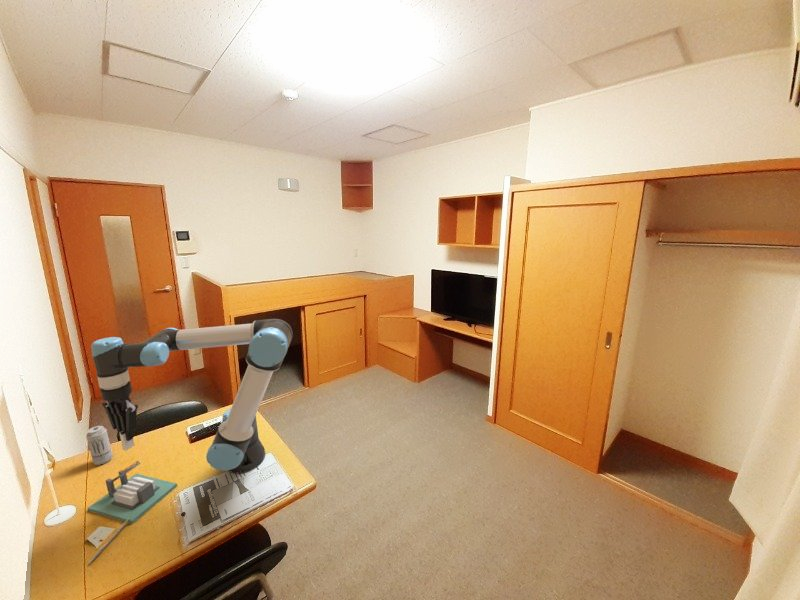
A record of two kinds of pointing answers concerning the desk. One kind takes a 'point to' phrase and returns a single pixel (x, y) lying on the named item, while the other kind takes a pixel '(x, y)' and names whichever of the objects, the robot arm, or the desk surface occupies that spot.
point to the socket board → (138, 510)
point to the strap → (127, 470)
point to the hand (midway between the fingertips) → (128, 447)
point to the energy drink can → (99, 445)
